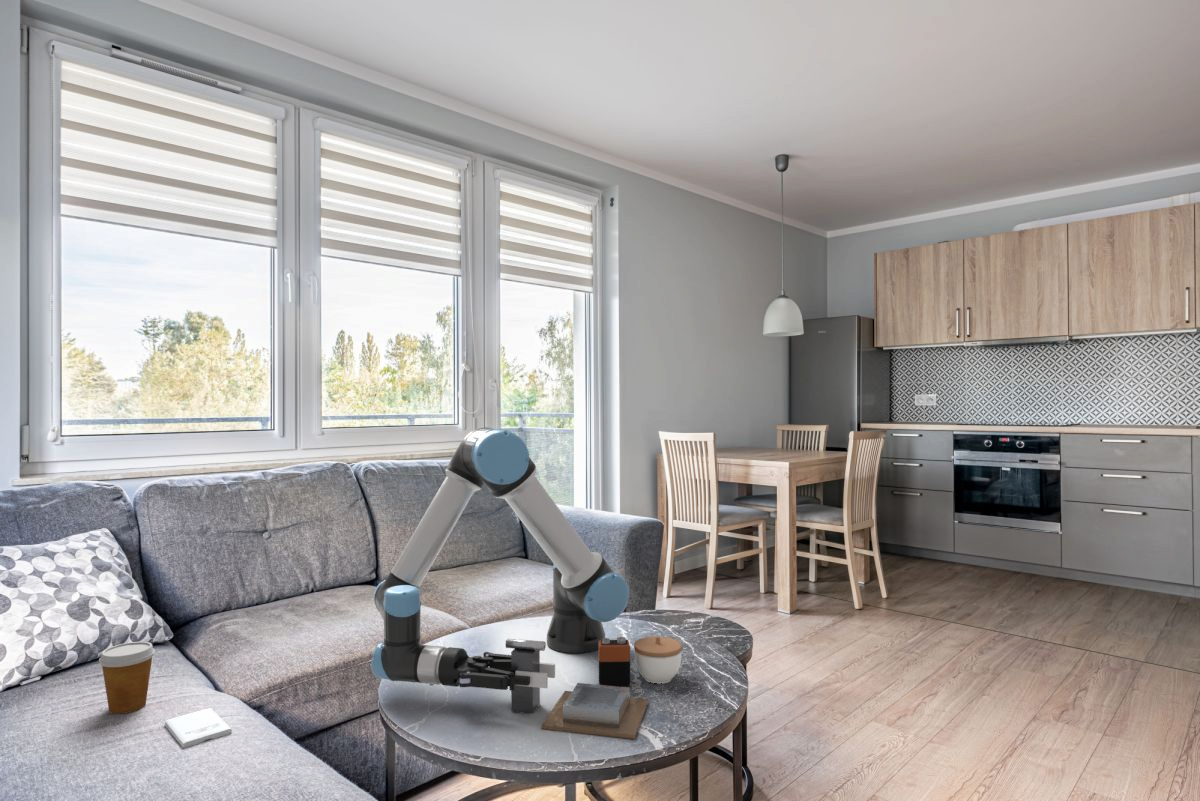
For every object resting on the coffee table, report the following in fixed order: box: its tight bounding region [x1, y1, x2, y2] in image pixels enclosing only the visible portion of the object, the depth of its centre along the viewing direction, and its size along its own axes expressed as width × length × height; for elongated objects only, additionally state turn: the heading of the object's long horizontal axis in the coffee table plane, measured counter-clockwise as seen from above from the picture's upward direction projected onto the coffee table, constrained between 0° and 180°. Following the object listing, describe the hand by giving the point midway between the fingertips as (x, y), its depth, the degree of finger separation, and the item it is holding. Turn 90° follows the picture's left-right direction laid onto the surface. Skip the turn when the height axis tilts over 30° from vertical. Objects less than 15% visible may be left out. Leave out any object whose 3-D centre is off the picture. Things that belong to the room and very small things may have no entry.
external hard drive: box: [164, 707, 232, 749], centre depth 134 cm, size 2×8×12 cm
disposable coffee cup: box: [98, 641, 156, 715], centre depth 144 cm, size 10×10×12 cm
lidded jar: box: [633, 635, 683, 685], centre depth 158 cm, size 11×11×9 cm
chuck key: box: [505, 638, 547, 714], centre depth 143 cm, size 4×8×14 cm, turn 77°
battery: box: [598, 636, 631, 688], centre depth 155 cm, size 4×7×10 cm, turn 92°
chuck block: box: [541, 682, 650, 740], centre depth 140 cm, size 16×18×4 cm
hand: (550, 675), depth 142 cm, fingers closed on chuck key, 4 cm apart
